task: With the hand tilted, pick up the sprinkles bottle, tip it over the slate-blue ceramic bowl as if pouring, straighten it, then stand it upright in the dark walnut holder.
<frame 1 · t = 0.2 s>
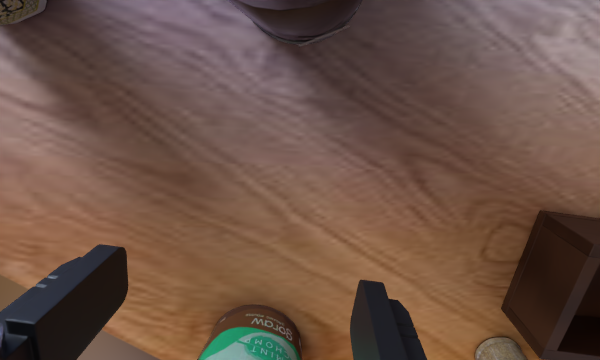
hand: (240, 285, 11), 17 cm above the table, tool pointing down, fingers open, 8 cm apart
sprinkles bottle: (494, 350, 33), on the table
holder: (575, 269, 30), on the table
food container: (263, 319, 33), on the table
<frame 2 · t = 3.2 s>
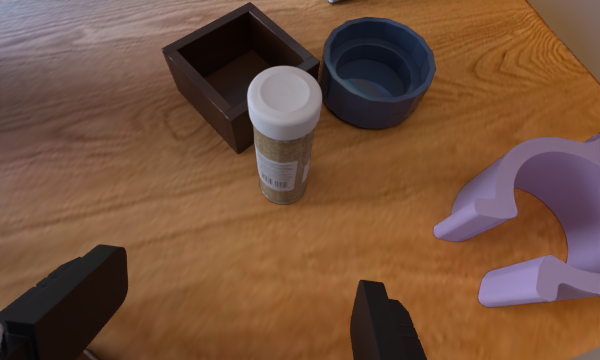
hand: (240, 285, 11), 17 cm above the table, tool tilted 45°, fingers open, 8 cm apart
clip: (534, 221, 32), on the table
sprinkles bottle: (282, 184, 32), on the table
holder: (246, 95, 36), on the table
bowl: (367, 89, 37), on the table
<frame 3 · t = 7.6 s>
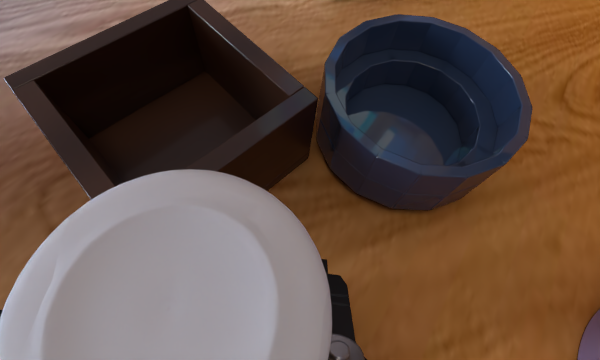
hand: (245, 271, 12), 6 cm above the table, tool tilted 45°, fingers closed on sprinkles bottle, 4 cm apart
sprinkles bottle: (248, 331, 16), on the table, touching gripper
holder: (192, 151, 21), on the table
bowl: (397, 136, 22), on the table
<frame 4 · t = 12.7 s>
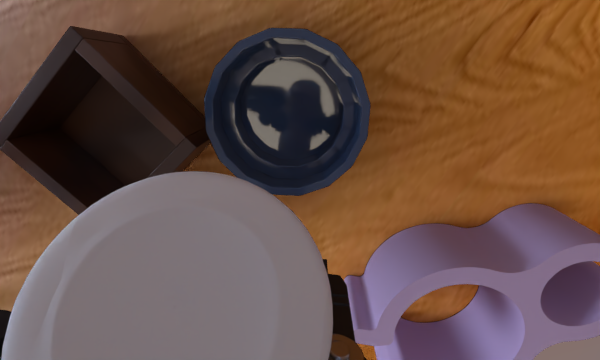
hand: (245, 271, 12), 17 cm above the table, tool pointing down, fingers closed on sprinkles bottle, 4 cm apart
clip: (453, 270, 31), on the table
sprinkles bottle: (248, 331, 17), point 14 cm above the table, touching gripper
holder: (134, 129, 28), on the table
bowl: (291, 110, 27), on the table
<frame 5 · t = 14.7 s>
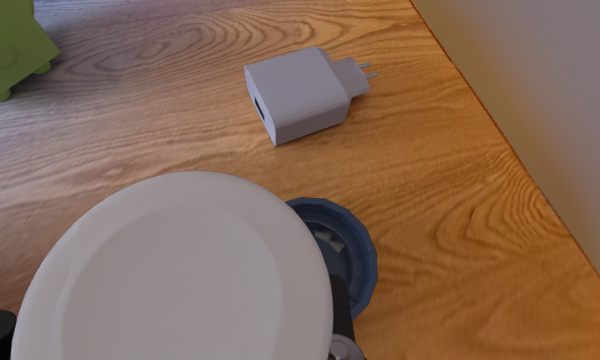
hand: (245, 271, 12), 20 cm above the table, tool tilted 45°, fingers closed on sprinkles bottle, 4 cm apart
charger: (316, 101, 41), on the table
kettle: (13, 71, 40), on the table
sprinkles bottle: (248, 330, 17), point 14 cm above the table, touching gripper
bowl: (306, 270, 31), on the table
when the fingers open (7 cm above the table, at t = 20.6 s): sprinkles bottle stays where it is, resting on holder.
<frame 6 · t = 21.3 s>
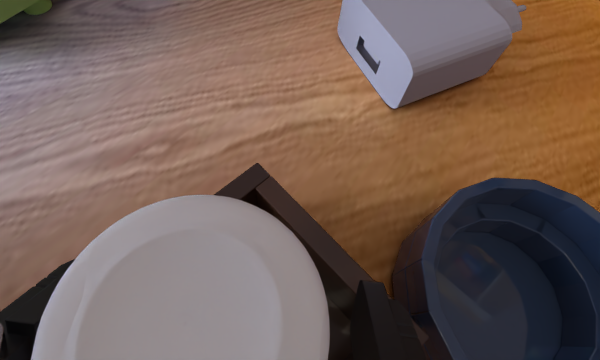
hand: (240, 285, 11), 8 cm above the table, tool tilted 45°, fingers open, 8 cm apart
charger: (434, 49, 29), on the table
sprinkles bottle: (251, 335, 17), point 1 cm above the table, touching holder
holder: (251, 332, 18), on the table
bowl: (484, 301, 19), on the table
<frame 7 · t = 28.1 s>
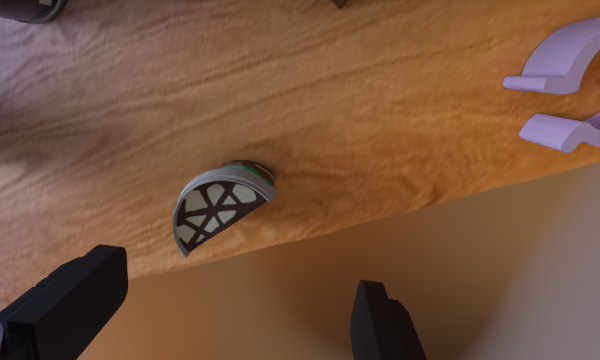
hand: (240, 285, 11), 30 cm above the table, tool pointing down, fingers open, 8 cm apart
food container: (232, 177, 42), on the table
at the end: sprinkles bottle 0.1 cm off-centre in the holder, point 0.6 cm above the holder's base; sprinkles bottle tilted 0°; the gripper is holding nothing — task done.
